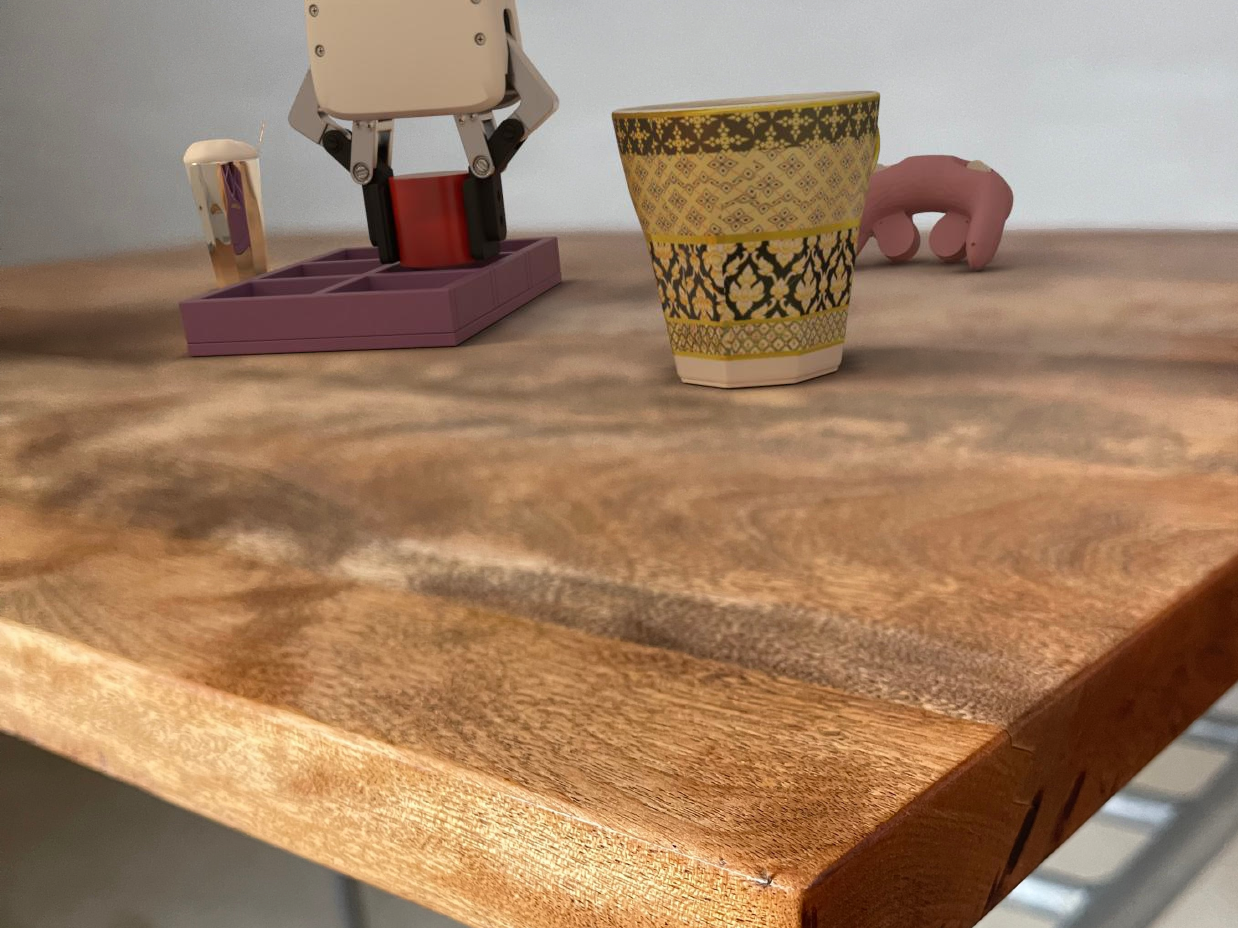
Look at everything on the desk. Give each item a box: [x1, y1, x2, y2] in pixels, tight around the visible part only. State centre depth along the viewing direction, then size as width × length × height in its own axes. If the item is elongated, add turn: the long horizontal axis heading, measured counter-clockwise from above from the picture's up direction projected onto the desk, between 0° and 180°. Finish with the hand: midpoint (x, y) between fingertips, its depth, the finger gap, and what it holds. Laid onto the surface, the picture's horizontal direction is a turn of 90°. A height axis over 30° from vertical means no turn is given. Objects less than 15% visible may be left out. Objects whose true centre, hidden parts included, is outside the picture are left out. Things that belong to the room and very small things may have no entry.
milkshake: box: [182, 118, 270, 289], centre depth 91 cm, size 4×5×10 cm
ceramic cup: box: [610, 90, 881, 389], centre depth 56 cm, size 13×10×10 cm
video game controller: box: [856, 154, 1014, 272], centre depth 80 cm, size 10×5×7 cm, turn 59°
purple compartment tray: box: [178, 236, 563, 357], centre depth 77 cm, size 20×14×3 cm
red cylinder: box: [388, 169, 480, 268], centre depth 75 cm, size 4×4×4 cm
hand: (440, 255), depth 76 cm, fingers closed on red cylinder, 4 cm apart
